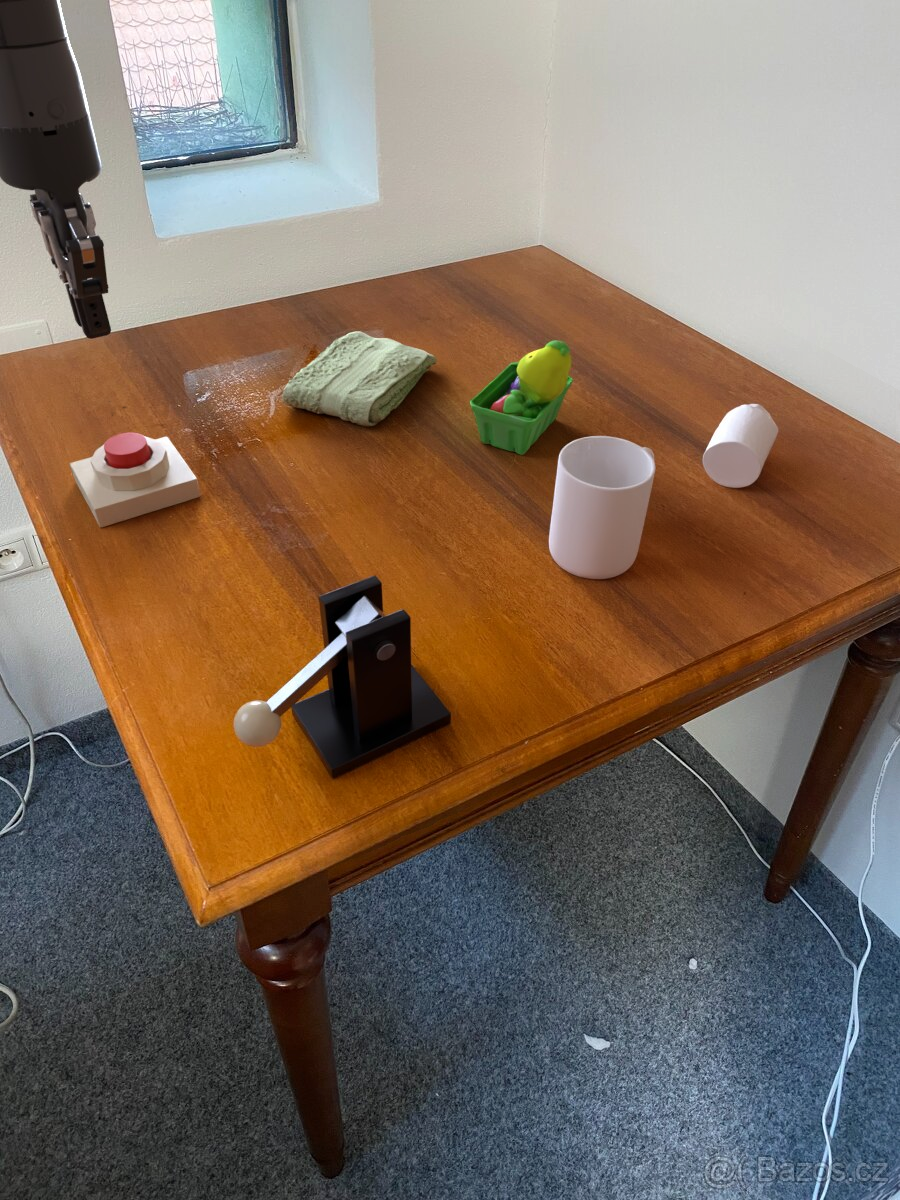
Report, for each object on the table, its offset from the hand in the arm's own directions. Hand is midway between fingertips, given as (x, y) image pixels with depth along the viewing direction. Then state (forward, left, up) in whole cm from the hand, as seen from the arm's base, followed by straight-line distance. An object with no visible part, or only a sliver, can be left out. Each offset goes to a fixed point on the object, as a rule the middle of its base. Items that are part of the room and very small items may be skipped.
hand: (94, 329), depth 77 cm
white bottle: (+57, -27, -17) cm, 65 cm away
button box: (0, 0, -17) cm, 17 cm away
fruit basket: (+40, -11, -17) cm, 45 cm away
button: (0, 0, -13) cm, 13 cm away
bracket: (+6, -39, -17) cm, 43 cm away
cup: (+35, -31, -17) cm, 50 cm away
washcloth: (+29, +7, -17) cm, 34 cm away
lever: (+2, -38, -11) cm, 40 cm away
